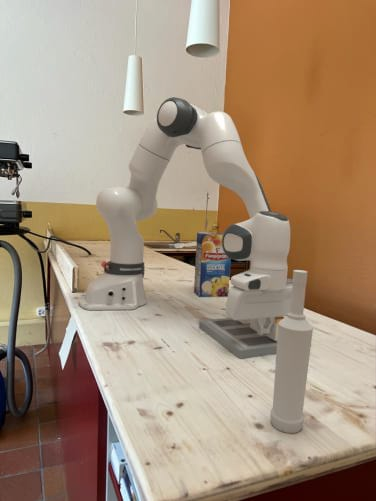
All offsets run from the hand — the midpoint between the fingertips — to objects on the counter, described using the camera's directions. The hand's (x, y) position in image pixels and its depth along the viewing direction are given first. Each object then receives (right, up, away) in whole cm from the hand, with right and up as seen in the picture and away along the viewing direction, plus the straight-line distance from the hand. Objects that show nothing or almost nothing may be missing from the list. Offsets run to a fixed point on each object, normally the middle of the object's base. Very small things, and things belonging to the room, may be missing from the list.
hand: (263, 334), depth 89 cm
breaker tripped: (+3, -1, +2) cm, 4 cm away
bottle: (-3, -8, -31) cm, 32 cm away
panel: (-3, -3, +7) cm, 8 cm away
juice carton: (-10, +3, +53) cm, 54 cm away
